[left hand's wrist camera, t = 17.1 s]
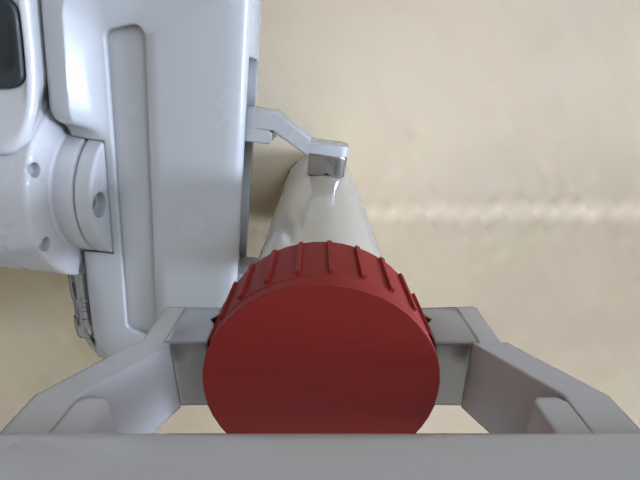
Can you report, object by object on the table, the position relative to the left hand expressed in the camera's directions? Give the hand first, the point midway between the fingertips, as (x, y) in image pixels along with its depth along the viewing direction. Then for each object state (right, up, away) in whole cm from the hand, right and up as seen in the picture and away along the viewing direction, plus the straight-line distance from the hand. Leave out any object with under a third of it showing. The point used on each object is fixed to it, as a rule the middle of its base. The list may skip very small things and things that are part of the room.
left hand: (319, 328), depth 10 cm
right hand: (+1, +4, +9) cm, 10 cm away
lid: (0, -1, -2) cm, 2 cm away
